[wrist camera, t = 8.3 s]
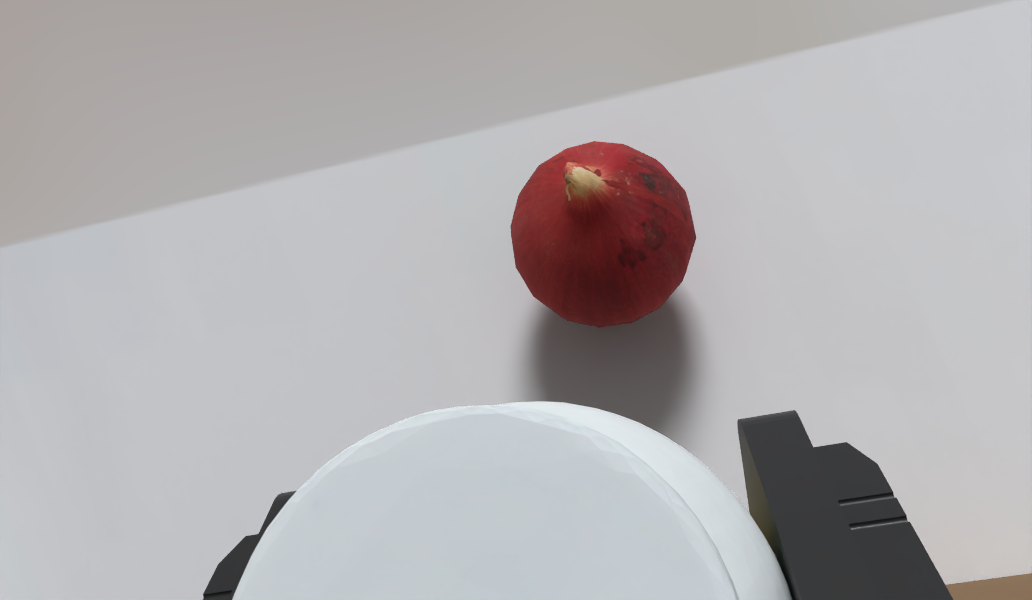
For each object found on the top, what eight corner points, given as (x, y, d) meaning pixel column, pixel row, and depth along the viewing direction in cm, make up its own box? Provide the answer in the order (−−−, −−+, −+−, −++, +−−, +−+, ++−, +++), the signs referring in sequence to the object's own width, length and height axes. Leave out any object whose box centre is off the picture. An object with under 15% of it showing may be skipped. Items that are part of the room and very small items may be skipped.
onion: (676, 189, 33) (672, 64, 26) (709, 337, 31) (714, 246, 24) (522, 221, 34) (474, 107, 26) (543, 367, 32) (498, 288, 24)
